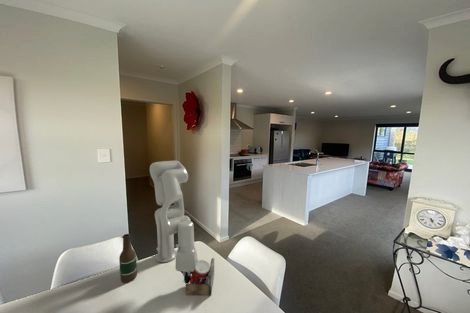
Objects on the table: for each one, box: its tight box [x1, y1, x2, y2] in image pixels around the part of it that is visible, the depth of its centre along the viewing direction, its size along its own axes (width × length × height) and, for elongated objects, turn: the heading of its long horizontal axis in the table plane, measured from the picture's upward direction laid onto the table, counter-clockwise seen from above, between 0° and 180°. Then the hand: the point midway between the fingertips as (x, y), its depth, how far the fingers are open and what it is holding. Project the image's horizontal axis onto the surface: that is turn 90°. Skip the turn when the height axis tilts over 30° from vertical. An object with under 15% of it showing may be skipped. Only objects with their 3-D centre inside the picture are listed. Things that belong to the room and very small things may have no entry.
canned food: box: [189, 259, 210, 284], centre depth 96 cm, size 8×8×11 cm
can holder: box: [185, 257, 215, 297], centre depth 98 cm, size 12×13×10 cm
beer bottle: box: [118, 233, 138, 284], centre depth 102 cm, size 8×8×24 cm
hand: (187, 281), depth 97 cm, fingers closed
